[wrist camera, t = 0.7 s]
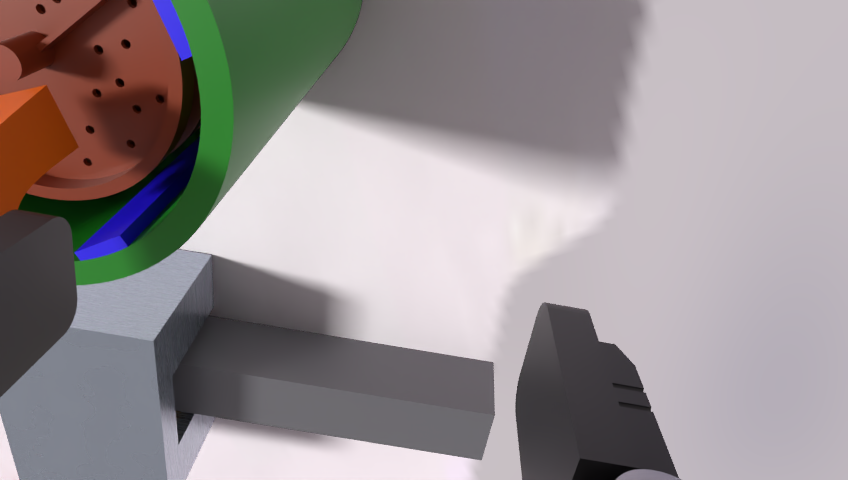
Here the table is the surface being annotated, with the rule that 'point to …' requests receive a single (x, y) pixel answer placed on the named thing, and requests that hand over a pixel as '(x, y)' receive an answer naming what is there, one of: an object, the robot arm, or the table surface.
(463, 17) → the table surface
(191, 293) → the housing
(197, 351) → the plug rod
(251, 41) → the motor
